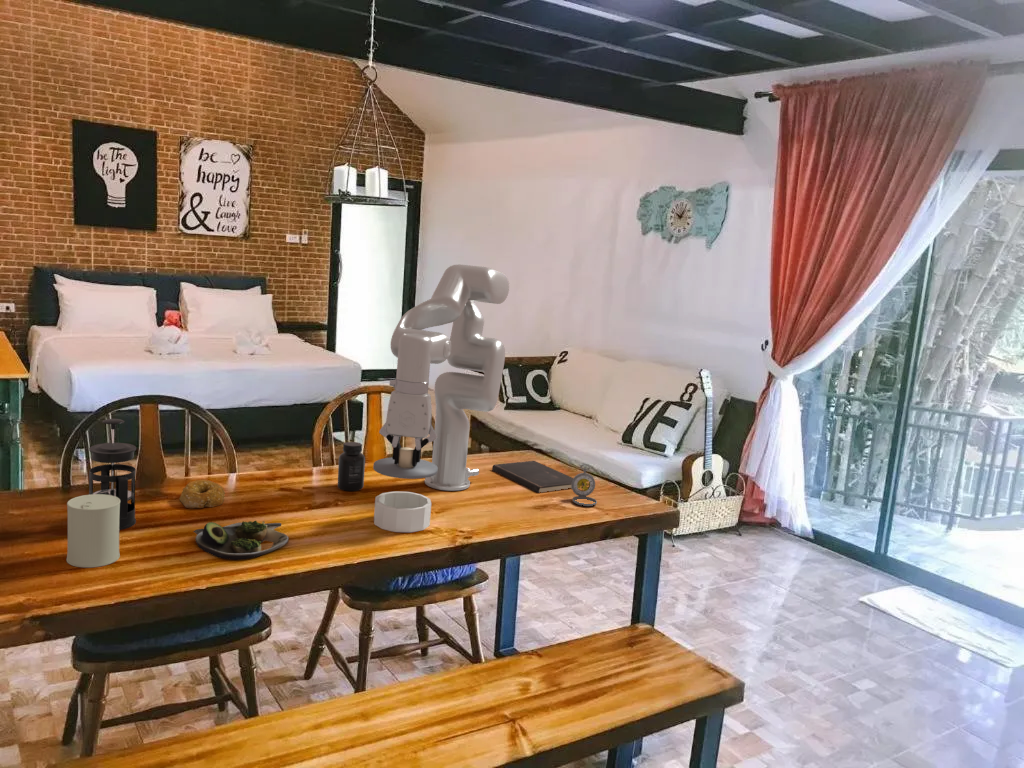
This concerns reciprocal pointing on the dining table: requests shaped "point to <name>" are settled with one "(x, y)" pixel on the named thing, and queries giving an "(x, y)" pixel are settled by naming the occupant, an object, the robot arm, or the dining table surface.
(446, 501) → the dining table surface
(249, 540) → the salad plate
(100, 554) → the can
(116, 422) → the french press
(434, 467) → the lid
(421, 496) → the bowl
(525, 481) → the hardcover book
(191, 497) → the bagel
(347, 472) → the supplement bottle
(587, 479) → the pocket watch
